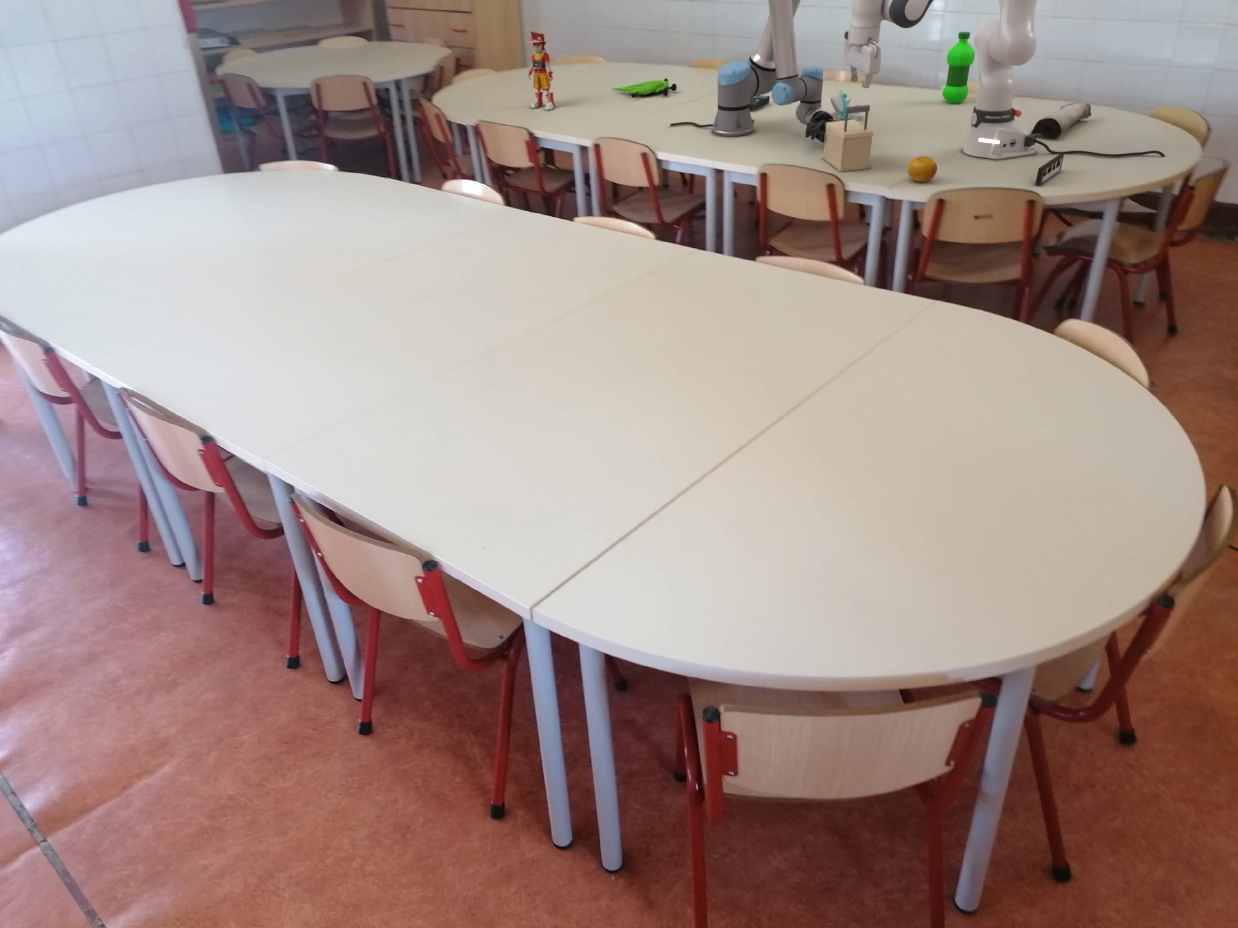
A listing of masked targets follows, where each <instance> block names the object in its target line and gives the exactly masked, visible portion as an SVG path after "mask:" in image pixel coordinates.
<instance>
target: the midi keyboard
mask: <svg viewBox="0 0 1238 928" xmlns="http://www.w3.org/2000/svg"><path fill="white" fill-rule="evenodd" d="M1064 157H1065V154H1057V155H1056V156H1055V157H1052V159H1051V160H1049V161H1047V162H1045V164H1042V165H1041V166H1039V167H1038V169H1037V175H1036V179H1035V186H1040V185H1042V183H1044V182H1045V181H1047V180H1048V179H1049V178H1051V177H1052V176H1054V175H1055V174H1056V173H1058V172H1060V171H1061V170H1062V165H1063V161H1064Z"/></svg>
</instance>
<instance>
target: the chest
mask: <svg viewBox="0 0 1238 928" xmlns="http://www.w3.org/2000/svg"><path fill="white" fill-rule="evenodd" d="M872 142H873V136H866V137H857V138H847V139H843V138H842V137H840V136H839V135H838V134H836V133H835V132H833V131H832V130H830V129H829V128H827V127H826V133H825V139H824V147H823V148H824V149H823V160H825V161H826V162H827V163H829V164H830V165H832V167H833V168H835V169H836V170H837V171H839V172H849V171H858V170H867V169H870V161H871V151H872Z"/></svg>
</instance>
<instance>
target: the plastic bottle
mask: <svg viewBox="0 0 1238 928" xmlns="http://www.w3.org/2000/svg"><path fill="white" fill-rule="evenodd" d="M970 36H971V32H970V31H959V32H958V36H957V39H958V42H957V43H956V44H954V45H953V46H952V47H951V48H950V49H949V50H948V52H947V54H946V63H947V64H948V69H947V70H948V71H947V76H946V77H947V78H946V84H945V85H944V87H943V90H942V97H943V99H944V100H945V101H946V102H947V103H948V104H960V103H961V102H963V101H964V100H966V98H967V96H968V95H969V85H968V79H969V73H970V67H971V65H972V64H973V63H974V61H975V57H976V51H975V49H974V47H972V45H971V44H970V43H969V42H968V41H969V39H970V38H971V37H970Z"/></svg>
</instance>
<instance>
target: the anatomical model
mask: <svg viewBox="0 0 1238 928" xmlns="http://www.w3.org/2000/svg"><path fill="white" fill-rule="evenodd" d="M847 97H848V95H847V92H845V91H844V90H842V89H841V90H839V93H837V95H833V96H831V97H830V103H831V106H832V107H833V110H834V111H835V112H836V113H839V114H840V115H841V117H842V119H845V112H844V109H845V107H850V105H849V104H850V102H851V101H852V98H848V99H847ZM855 106H861V104H856V105H855ZM863 118H865V115H863V114H859V113H850V114H848V120H856V119H857V120H858V119H860V120H861V119H863Z"/></svg>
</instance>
